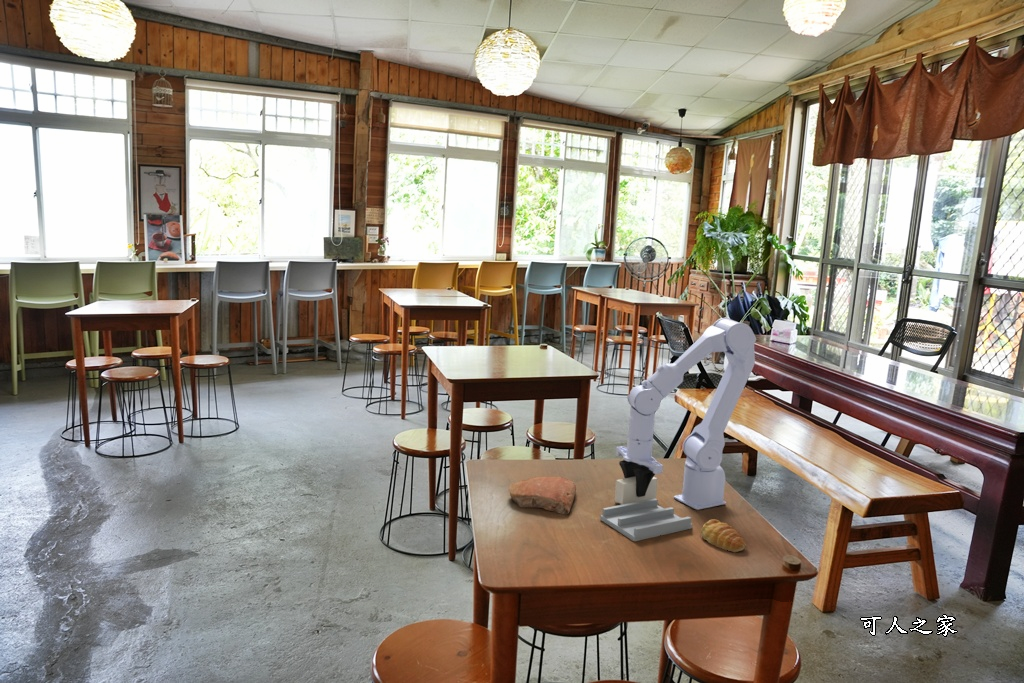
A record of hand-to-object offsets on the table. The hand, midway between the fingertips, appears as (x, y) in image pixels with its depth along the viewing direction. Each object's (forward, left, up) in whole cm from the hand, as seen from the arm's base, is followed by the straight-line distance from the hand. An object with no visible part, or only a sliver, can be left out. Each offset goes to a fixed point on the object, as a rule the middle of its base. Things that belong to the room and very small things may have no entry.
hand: (635, 493), depth 162 cm
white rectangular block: (0, 0, -2) cm, 2 cm away
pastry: (-3, +24, -3) cm, 24 cm away
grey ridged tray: (+6, +11, -2) cm, 13 cm away
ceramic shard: (+20, -10, -3) cm, 22 cm away
